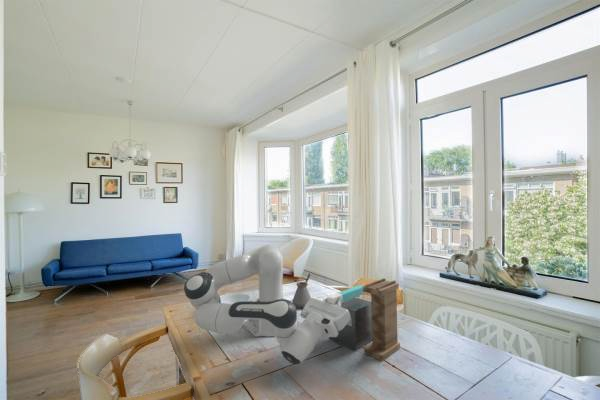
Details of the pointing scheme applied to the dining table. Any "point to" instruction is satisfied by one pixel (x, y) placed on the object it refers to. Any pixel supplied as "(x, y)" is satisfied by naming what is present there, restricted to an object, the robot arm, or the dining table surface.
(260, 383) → the dining table surface
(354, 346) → the switch box
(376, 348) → the post
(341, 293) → the teal bar
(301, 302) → the coffee pot
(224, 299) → the serving bowl
